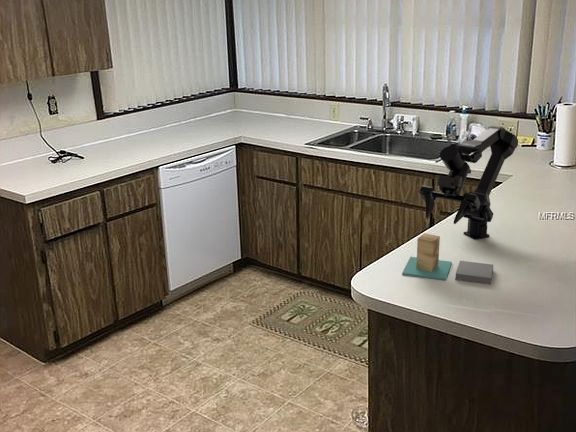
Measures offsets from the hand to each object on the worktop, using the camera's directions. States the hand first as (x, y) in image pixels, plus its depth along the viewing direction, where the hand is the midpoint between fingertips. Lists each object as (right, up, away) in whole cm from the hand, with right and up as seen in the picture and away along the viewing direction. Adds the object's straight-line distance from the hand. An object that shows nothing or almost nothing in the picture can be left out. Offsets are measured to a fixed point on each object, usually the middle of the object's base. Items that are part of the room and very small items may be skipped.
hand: (440, 220), depth 198 cm
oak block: (-4, -14, -2) cm, 15 cm away
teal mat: (-4, -15, -1) cm, 16 cm away
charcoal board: (+9, -16, -6) cm, 20 cm away
